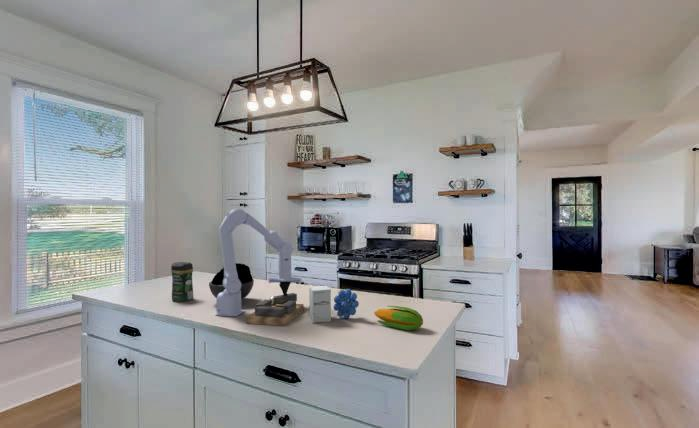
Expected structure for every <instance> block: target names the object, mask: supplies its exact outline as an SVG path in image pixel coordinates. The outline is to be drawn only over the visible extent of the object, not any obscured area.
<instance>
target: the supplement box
mask: <svg viewBox="0 0 699 428" xmlns="http://www.w3.org/2000/svg"><path fill="white" fill-rule="evenodd" d="M308 288H309V296H308V297H309V319H310V320H311V322H312V324H315V323H316V324H317V323H326V322H327V323H328V322H332V308H331V307H332V303H331V302H332V301H331V299H332V295H331V294H332V293H331V292H332V291H331V288H330V287H329V286H328V285H320V286H309V287H308Z"/></svg>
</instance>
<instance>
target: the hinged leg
mask: <svg viewBox="0 0 699 428" xmlns="http://www.w3.org/2000/svg"><path fill="white" fill-rule="evenodd" d="M269 300H272V306H273V305H276V304H283V303H287V302H288V301H296V302H297V301H298V294H297V293H295V292H292V293H290V292H289V293H287V294H284V295H283V294H279V295H274V296H269Z"/></svg>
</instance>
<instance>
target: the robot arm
mask: <svg viewBox="0 0 699 428" xmlns="http://www.w3.org/2000/svg"><path fill="white" fill-rule="evenodd" d="M241 225H246V226H250V227H251V228H252V229H254V230H255V231H256V232H258V233H259V234H261V235H262V236H263V238H264V239H263V240H264V242H266V243H267V244H269V245H270V246H271V247H272V248H273V249H275V250H276V252H277V253H278V264H277V265H278V276H277V277H276V276H274V277H269V278H268V283H269V284H271V283H279V284H278V285H279V287H280V289H281V292H282V295H284V294H288V291H289V289H290V285H291V283H302V277H298V276H297V277H296V276H295V277H294V276H292V253H293V251H294V248H293V245H292V244H291V243H290V242H288V241H286V240H287V239H286V238H283V237H282V236H280V234H279V232H278V231H277V230H269V229H268V228H266V227H265V226H264V225H263V224H262V223H260V222H259V221H258V220H257V219H256V218H255V217H254V216H252V215H251V214H250V213H249V212H245V210H243V209H242V208H232V209H231V210H230V211H228V212H227V213H226V215H225V216H224V218H223V220H222V222H221V224H220V226H219V228H218V229H219V230H218V231H219V239H220V247H221V253H222V254H221V255H222V261H223V262H222V263H223V267H224V280H223V286H224V287H225V289H224V291H223V292H220V293H219V294H218V296H217V298H216V313H215V316H219V317H220V316H223V317H238V316H239V315H241V314H243V313H244V312H246V309H242V300H241V290H240V289H241V282H240V280H239V279H238V274H237V270H236V264H235V263H236V257H235V250H234V249H235V248H234V240H233V234H232V233H233V232H234V230H235V229H237V227H239V226H241Z"/></svg>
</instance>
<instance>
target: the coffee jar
mask: <svg viewBox="0 0 699 428" xmlns="http://www.w3.org/2000/svg"><path fill="white" fill-rule="evenodd" d="M170 267H171V268H170V272H171V277H172V278H171V279H172V283H171V285H172V286H171V300H172V301H175V302H186V301H187V302H189V301H191V300H192V299H194V284H193V271H194V268H193V267H194V266H193V263H192V262H187V261H177V262H173V263H172V264H171V266H170Z"/></svg>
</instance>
